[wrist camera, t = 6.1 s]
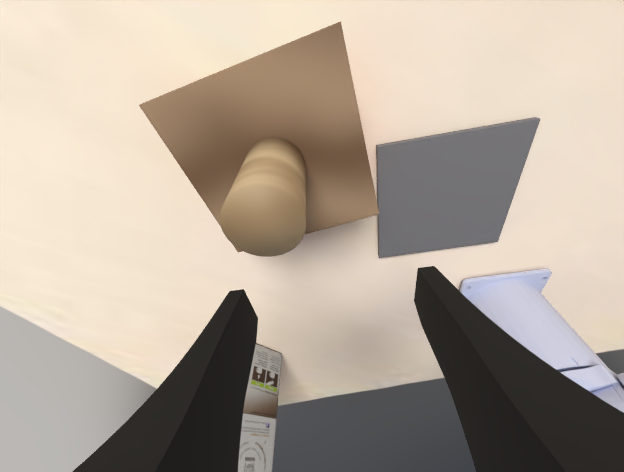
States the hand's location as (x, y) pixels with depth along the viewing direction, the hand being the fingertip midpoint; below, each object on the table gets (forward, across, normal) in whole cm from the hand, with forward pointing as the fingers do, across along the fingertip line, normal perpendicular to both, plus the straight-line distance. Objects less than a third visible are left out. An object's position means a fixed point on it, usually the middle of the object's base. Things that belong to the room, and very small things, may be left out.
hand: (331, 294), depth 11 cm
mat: (+10, -9, +3) cm, 14 cm away
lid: (+6, +2, -4) cm, 8 cm away
